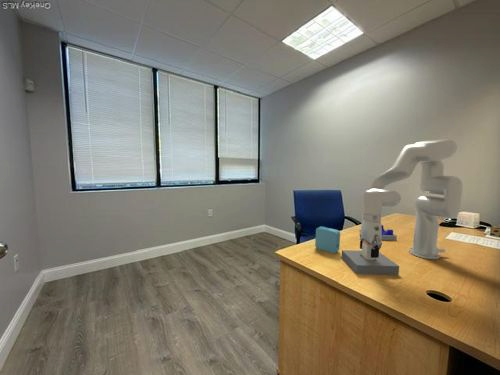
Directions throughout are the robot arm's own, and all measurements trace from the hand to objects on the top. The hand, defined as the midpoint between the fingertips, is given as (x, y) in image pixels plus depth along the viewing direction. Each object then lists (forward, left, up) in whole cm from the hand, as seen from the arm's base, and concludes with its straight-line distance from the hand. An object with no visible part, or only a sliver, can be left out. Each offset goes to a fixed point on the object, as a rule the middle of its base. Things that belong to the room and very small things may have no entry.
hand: (368, 252), depth 99 cm
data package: (+13, -18, -7) cm, 23 cm away
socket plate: (0, 0, -6) cm, 6 cm away
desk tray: (-32, -44, -6) cm, 55 cm away
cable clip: (-34, -44, -7) cm, 56 cm away
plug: (0, 0, -6) cm, 6 cm away
